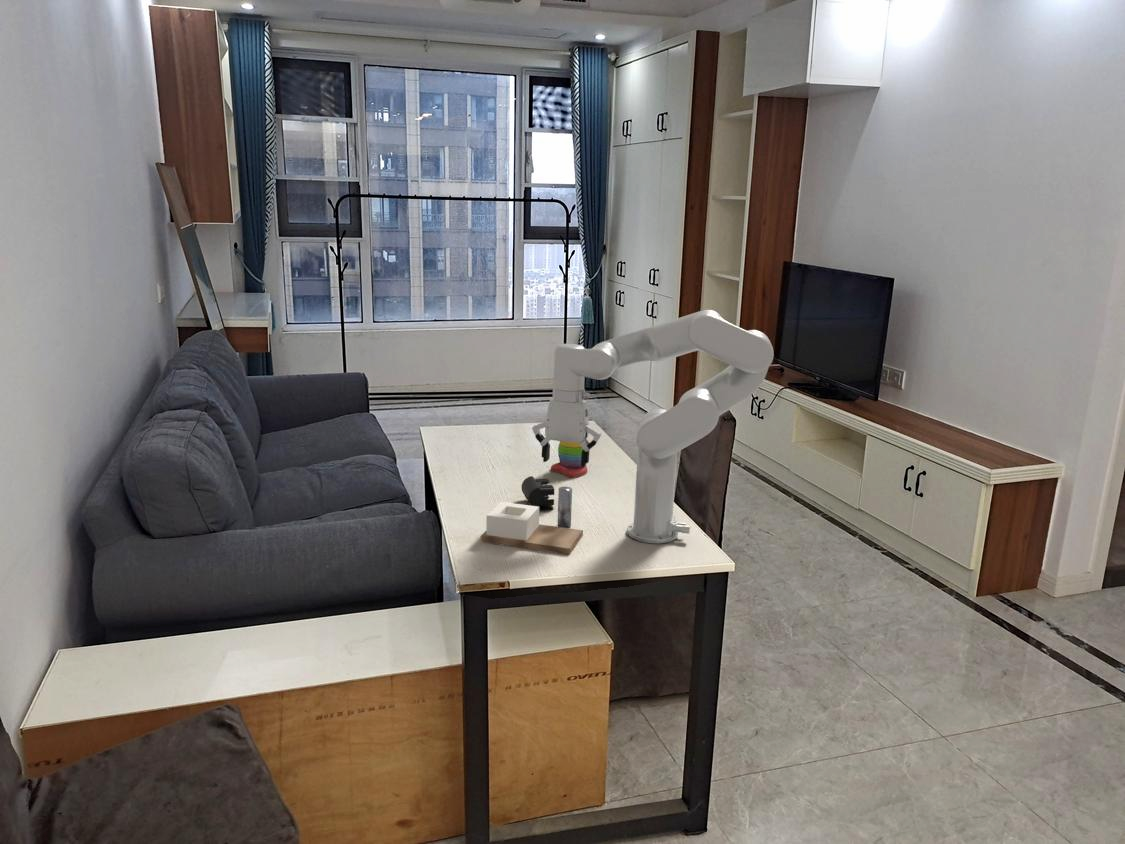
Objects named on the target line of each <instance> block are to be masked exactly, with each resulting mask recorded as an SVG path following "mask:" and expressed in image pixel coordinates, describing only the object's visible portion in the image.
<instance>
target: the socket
mask: <svg viewBox="0 0 1125 844" xmlns="http://www.w3.org/2000/svg"><path fill="white" fill-rule="evenodd" d="M539 524H540V511H539V507H537V506H530V504H529V505H528V504H523V503H514V502H513V503H512V502H506V501H500V502H499V503H498V504H497V505H496V506H495V507H493V509H491V511H490V512H488V513H487V514H486V530H485V531H486V535H490V536H497V537H504V538H511V539H518V540H525V541H526V540H527V539H528V538H529V537H530V536H531V534H532V533H533V532H534V531H535V530H536V529H537V527H538V526H539Z"/></svg>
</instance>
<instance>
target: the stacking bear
mask: <svg viewBox="0 0 1125 844" xmlns="http://www.w3.org/2000/svg"><path fill="white" fill-rule="evenodd" d="M586 439H587V440H588V437H587V438H586ZM582 451H583V448H582V446H581V445H580V444H579V443H572V442H564V441H559V444H558V447H557V454H558V461H559V462H556V463H554V464H552V465H551V467H550V471H552V472H554V473H560V474H563V475H564V477H566V478H571V479H572V478H573V479H574V478H575V477H576V478H579V476H580V477H582V476H585V475H586V474H587V473H588V467H587V464H586V465H585V466H584V467H582V466H581V455H582ZM576 478H575V479H576Z"/></svg>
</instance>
